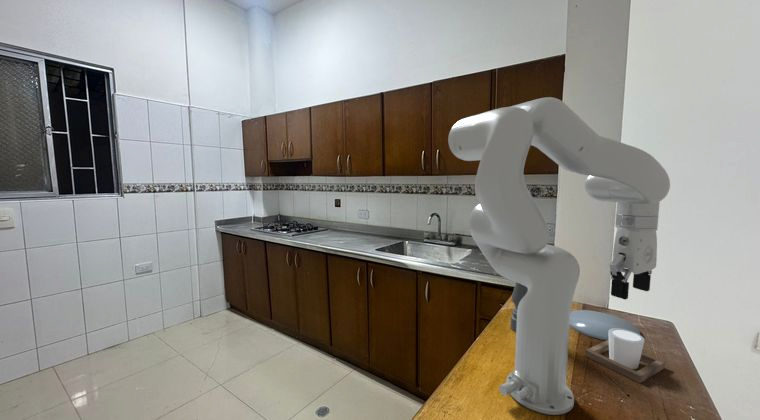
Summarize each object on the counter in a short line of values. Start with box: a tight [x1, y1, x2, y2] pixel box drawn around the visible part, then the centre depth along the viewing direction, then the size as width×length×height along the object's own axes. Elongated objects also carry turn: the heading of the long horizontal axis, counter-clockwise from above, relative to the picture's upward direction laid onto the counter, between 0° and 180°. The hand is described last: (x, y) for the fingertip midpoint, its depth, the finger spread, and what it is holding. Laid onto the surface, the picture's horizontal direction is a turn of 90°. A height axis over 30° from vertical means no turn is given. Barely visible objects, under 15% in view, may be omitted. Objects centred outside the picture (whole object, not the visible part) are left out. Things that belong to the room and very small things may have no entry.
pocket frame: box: [584, 340, 666, 384], centre depth 75 cm, size 12×12×2 cm
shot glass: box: [608, 328, 645, 370], centre depth 75 cm, size 7×7×7 cm
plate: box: [569, 309, 641, 342], centre depth 92 cm, size 18×18×1 cm
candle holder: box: [510, 282, 528, 333], centre depth 90 cm, size 6×6×25 cm
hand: (630, 293), depth 73 cm, fingers open, 9 cm apart
